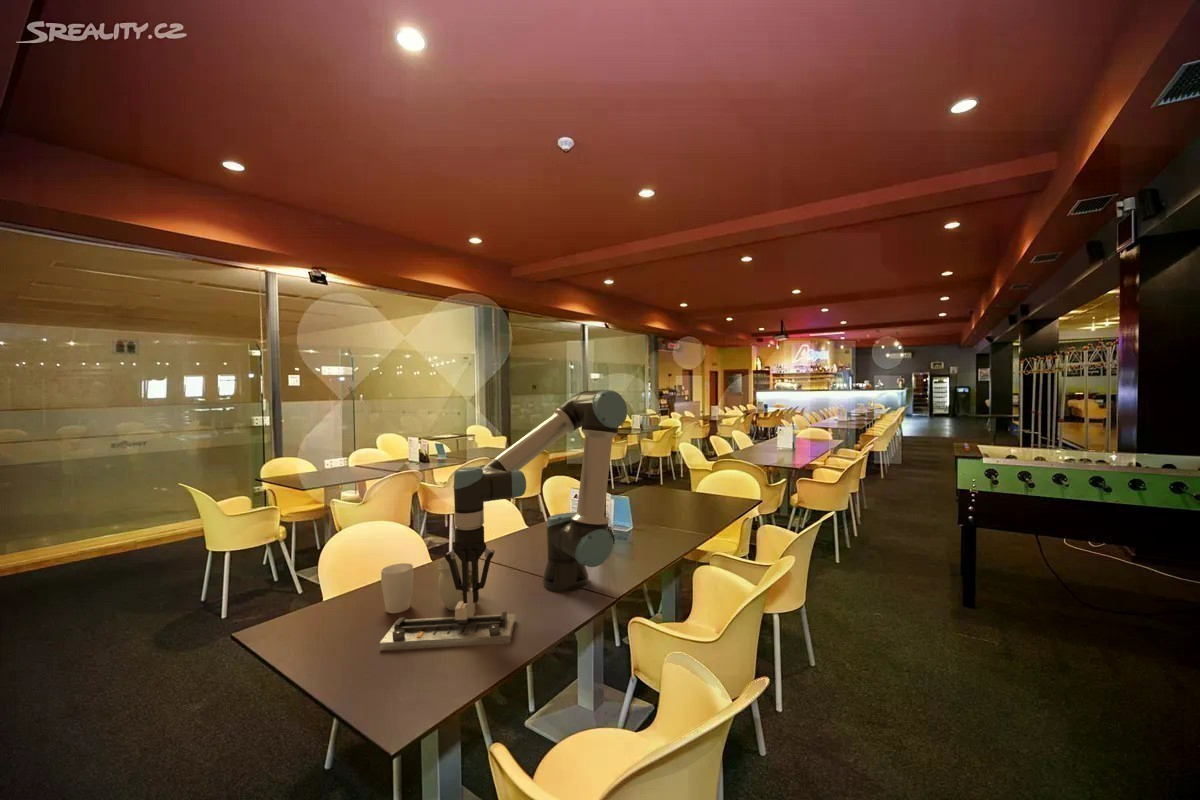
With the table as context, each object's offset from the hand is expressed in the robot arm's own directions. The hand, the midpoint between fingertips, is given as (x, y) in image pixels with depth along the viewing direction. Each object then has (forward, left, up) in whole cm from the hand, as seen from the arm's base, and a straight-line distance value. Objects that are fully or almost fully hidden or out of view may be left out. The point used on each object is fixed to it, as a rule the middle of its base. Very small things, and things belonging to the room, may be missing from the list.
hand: (471, 614), depth 125 cm
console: (+5, +1, -5) cm, 7 cm away
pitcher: (+7, -18, -5) cm, 20 cm away
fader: (+2, 0, -3) cm, 3 cm away
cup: (+25, -17, -5) cm, 31 cm away
